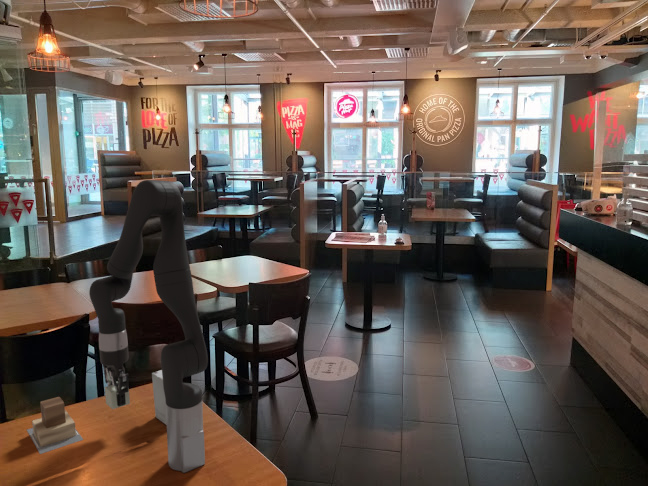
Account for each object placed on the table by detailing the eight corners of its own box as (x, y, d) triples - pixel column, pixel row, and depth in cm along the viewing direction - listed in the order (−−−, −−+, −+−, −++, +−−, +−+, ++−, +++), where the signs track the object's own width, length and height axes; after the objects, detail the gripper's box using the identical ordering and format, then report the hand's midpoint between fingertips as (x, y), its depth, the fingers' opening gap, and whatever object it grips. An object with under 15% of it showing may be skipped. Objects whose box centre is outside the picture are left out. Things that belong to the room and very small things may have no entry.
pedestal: (75, 435, 146) (74, 422, 146) (40, 447, 141) (39, 433, 140) (66, 423, 153) (66, 410, 152) (33, 433, 147) (32, 420, 147)
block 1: (65, 422, 146) (64, 402, 145) (46, 428, 143) (44, 408, 142) (61, 415, 150) (59, 396, 148) (41, 421, 146) (40, 401, 145)
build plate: (83, 442, 145) (83, 439, 144) (40, 456, 137) (40, 453, 137) (67, 419, 156) (67, 417, 156) (26, 432, 149) (26, 429, 149)
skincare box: (184, 420, 157) (182, 374, 155) (166, 427, 153) (164, 380, 150) (171, 410, 163) (169, 366, 160) (153, 416, 159) (151, 371, 156)
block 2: (129, 403, 148) (128, 387, 147) (112, 409, 144) (111, 392, 144) (123, 398, 151) (122, 382, 151) (106, 403, 148) (104, 387, 147)
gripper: (136, 348, 143) (140, 406, 145) (117, 336, 153) (121, 390, 156) (109, 355, 138) (113, 415, 140) (91, 342, 148) (95, 398, 151)
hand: (117, 401), depth 148 cm, fingers closed on block 2, 5 cm apart
